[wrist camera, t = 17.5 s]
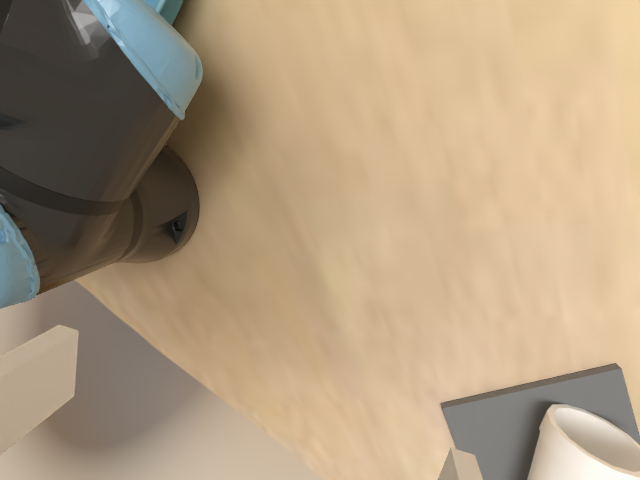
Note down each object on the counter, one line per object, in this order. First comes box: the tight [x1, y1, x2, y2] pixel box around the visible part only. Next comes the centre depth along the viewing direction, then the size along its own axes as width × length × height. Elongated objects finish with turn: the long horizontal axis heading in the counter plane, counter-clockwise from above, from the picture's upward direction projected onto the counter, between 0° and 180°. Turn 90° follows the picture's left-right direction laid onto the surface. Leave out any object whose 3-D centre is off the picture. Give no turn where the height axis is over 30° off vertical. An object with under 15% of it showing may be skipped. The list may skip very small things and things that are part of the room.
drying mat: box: [441, 363, 640, 480], centre depth 45 cm, size 20×16×1 cm
